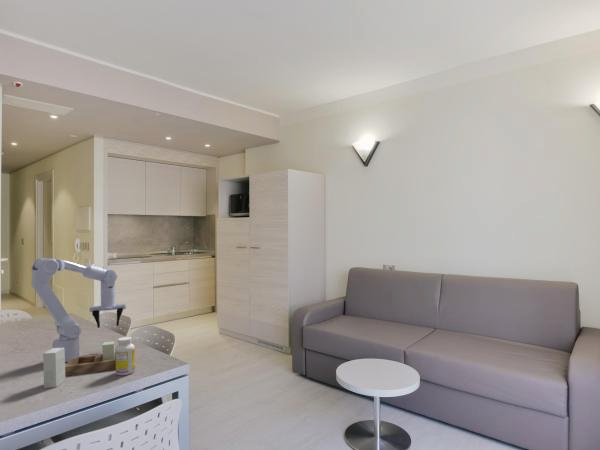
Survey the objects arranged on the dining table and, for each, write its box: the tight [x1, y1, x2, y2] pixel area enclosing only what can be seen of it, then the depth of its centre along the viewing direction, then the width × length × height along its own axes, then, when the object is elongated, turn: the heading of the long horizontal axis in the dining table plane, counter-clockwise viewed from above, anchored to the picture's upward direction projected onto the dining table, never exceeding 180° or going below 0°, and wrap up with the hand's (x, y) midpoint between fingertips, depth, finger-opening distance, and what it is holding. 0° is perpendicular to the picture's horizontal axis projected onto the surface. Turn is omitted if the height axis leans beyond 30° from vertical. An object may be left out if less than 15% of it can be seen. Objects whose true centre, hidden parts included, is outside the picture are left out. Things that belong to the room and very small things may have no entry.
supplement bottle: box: [115, 336, 136, 376], centre depth 143 cm, size 7×7×13 cm
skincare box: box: [42, 347, 66, 389], centre depth 133 cm, size 6×4×12 cm
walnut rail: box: [65, 353, 116, 377], centre depth 150 cm, size 20×11×3 cm, turn 112°
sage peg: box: [101, 340, 116, 361], centre depth 152 cm, size 4×4×8 cm
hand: (108, 326), depth 172 cm, fingers open, 7 cm apart
